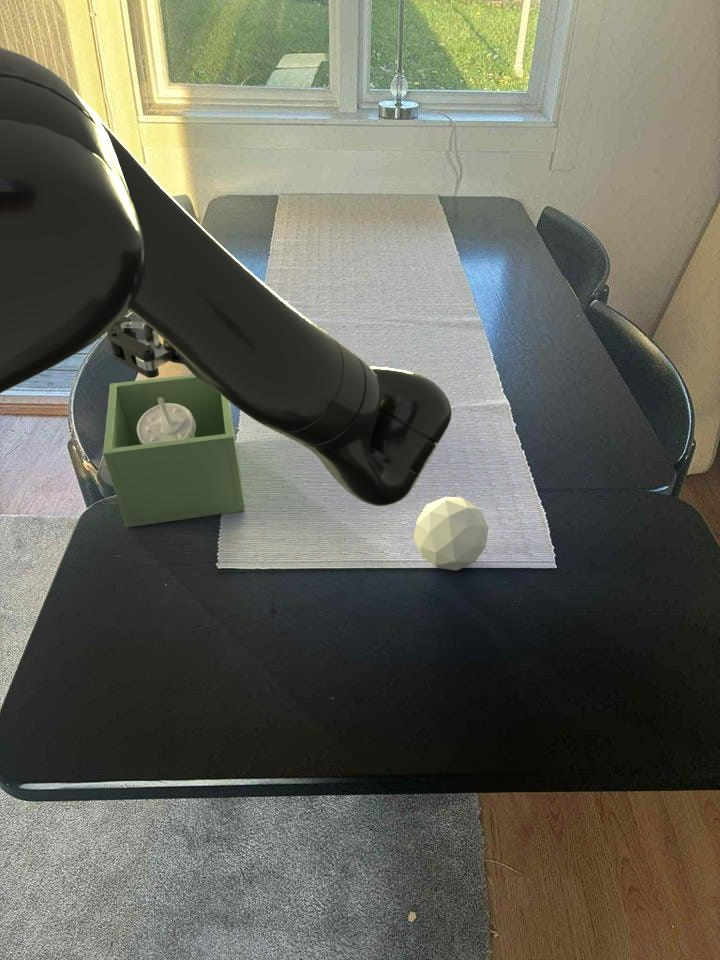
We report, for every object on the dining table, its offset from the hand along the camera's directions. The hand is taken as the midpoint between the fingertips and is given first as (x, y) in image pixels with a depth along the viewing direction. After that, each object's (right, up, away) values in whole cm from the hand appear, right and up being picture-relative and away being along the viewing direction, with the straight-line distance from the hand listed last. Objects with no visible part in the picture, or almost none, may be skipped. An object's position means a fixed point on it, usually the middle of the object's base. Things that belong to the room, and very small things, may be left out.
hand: (145, 303), depth 71 cm
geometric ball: (+31, -26, +7) cm, 42 cm away
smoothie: (0, -17, +15) cm, 23 cm away
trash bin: (0, -18, +16) cm, 24 cm away
